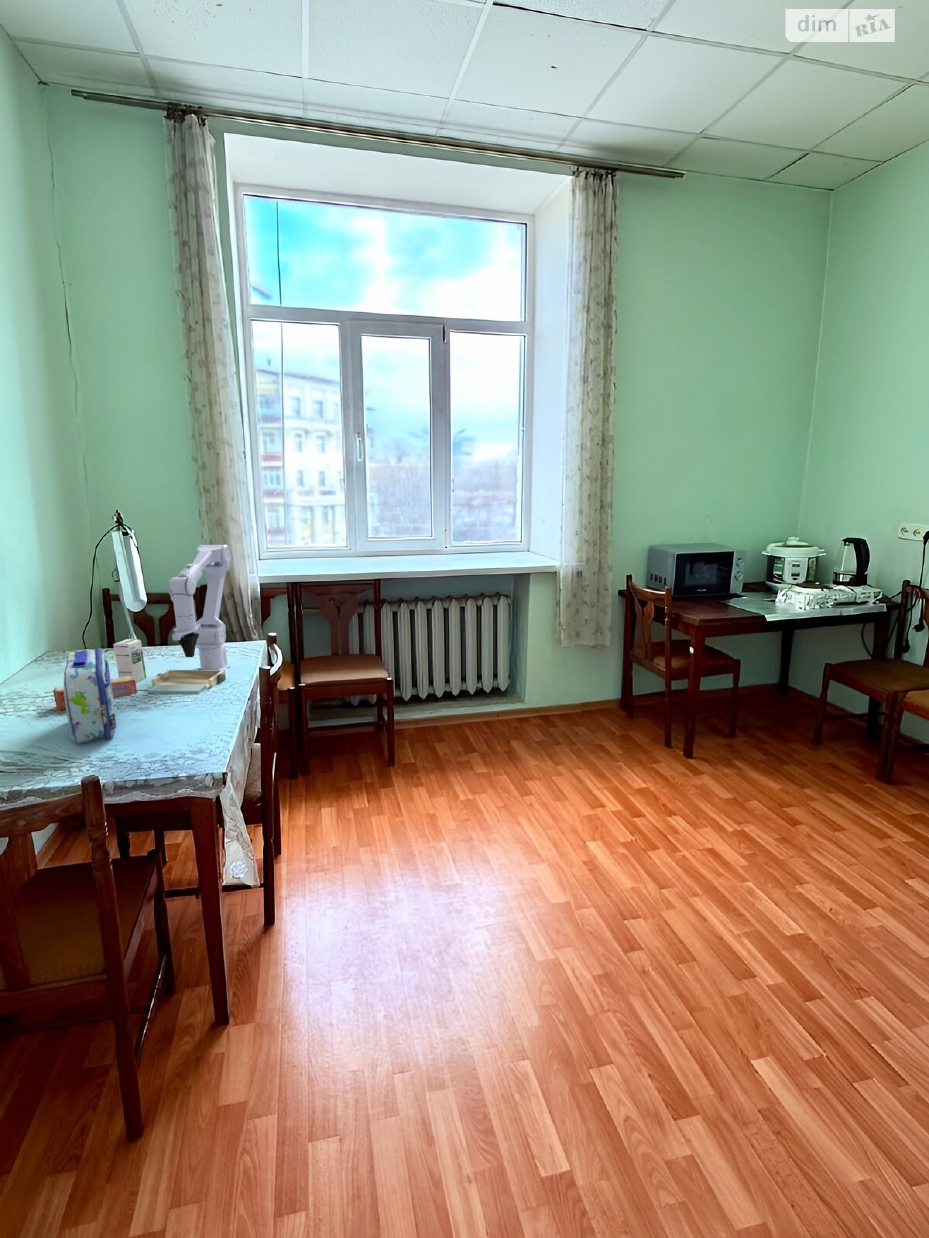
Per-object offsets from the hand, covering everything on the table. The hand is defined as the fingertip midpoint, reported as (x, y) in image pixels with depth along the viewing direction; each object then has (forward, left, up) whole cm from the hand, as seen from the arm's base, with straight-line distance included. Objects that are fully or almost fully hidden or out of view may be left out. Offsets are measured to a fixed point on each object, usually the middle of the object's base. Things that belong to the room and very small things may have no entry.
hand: (190, 656), depth 205 cm
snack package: (+16, -22, -10) cm, 29 cm away
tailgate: (+7, 0, -8) cm, 11 cm away
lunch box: (+37, -9, -10) cm, 39 cm away
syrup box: (0, -20, -10) cm, 22 cm away
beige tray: (+2, 0, -9) cm, 10 cm away
